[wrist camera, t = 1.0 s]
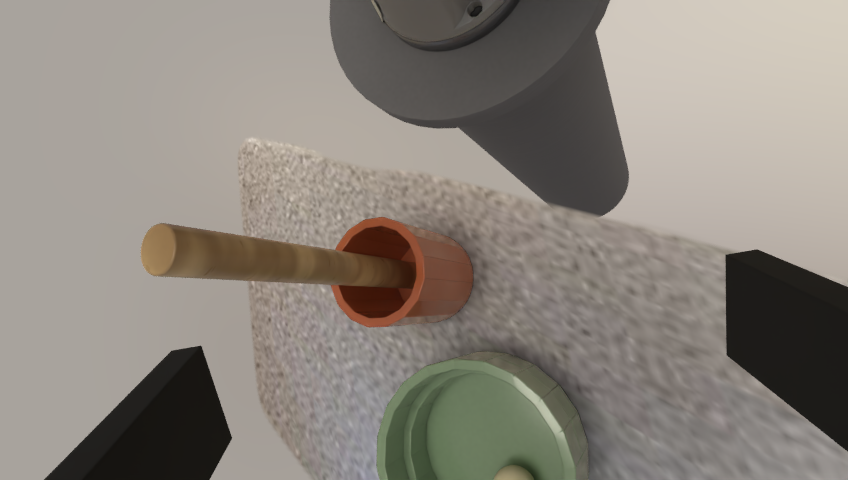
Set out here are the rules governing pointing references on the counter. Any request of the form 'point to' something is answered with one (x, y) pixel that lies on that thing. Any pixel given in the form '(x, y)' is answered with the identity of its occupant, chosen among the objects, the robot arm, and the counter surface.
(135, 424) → the robot arm
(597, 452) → the counter surface
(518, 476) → the ball
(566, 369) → the counter surface
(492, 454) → the bowl
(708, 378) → the counter surface
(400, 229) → the utensil cup
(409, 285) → the stirring stick
